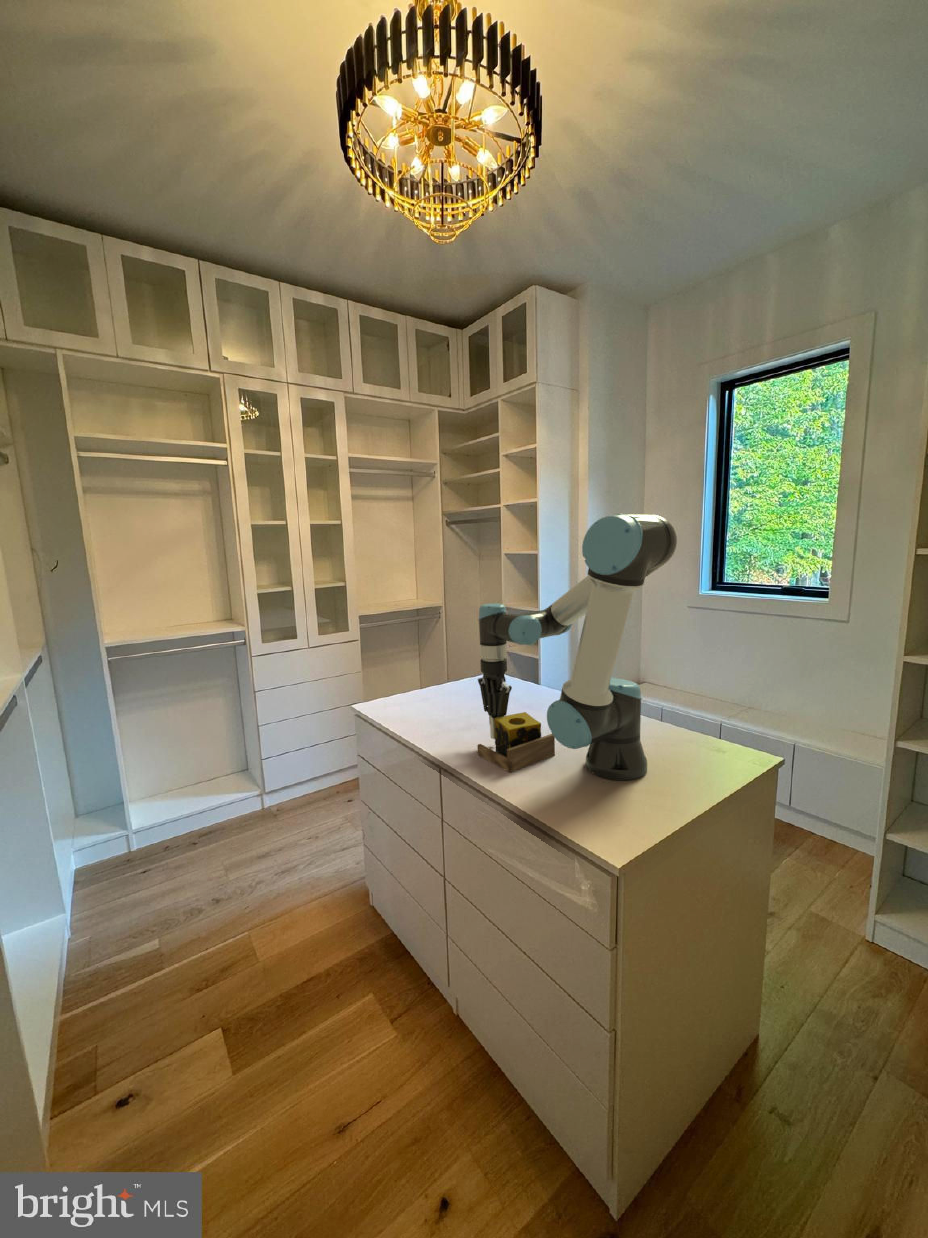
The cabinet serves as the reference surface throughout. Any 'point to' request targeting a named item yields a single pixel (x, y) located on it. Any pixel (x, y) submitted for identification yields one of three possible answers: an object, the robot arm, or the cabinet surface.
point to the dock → (521, 753)
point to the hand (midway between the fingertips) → (495, 737)
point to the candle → (515, 731)
